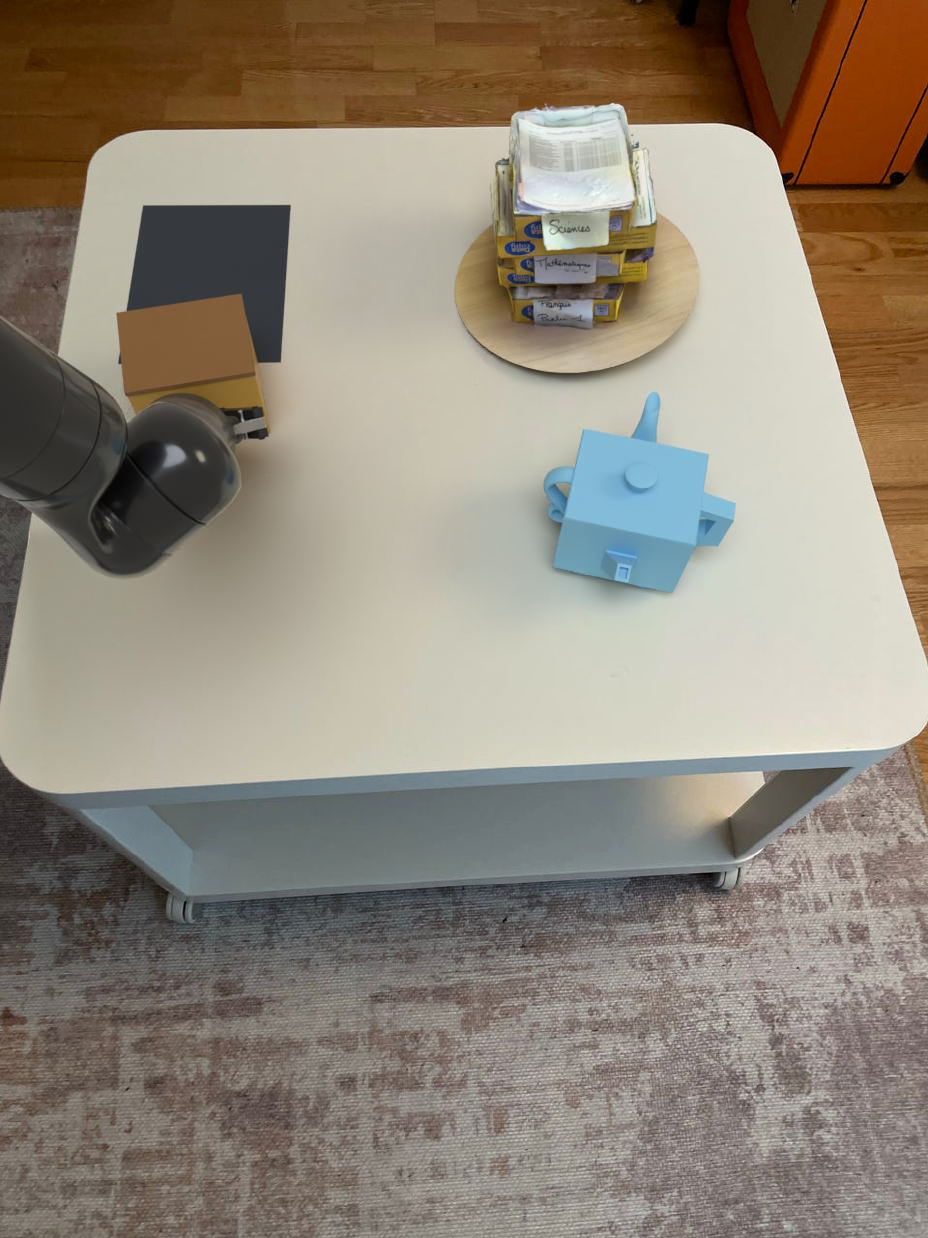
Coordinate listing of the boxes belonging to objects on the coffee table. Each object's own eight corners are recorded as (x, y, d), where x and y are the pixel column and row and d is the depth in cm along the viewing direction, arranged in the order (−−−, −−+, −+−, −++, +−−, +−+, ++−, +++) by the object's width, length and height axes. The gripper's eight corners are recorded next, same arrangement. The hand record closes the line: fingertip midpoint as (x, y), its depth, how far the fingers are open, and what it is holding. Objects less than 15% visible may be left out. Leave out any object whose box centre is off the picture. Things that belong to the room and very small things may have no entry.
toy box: (271, 434, 90) (255, 371, 82) (152, 454, 88) (124, 392, 80) (258, 360, 93) (241, 293, 85) (144, 378, 92) (116, 312, 84)
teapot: (517, 606, 82) (528, 541, 72) (555, 443, 90) (570, 363, 80) (696, 645, 81) (732, 585, 71) (719, 476, 89) (755, 400, 79)
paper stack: (425, 352, 94) (423, 216, 79) (490, 186, 105) (499, 39, 90) (665, 410, 92) (710, 282, 77) (708, 235, 102) (755, 92, 87)
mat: (118, 364, 93) (117, 363, 93) (143, 206, 102) (143, 205, 102) (280, 363, 94) (280, 362, 93) (290, 205, 103) (290, 204, 103)
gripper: (258, 382, 68) (263, 367, 85) (72, 414, 67) (114, 392, 83) (280, 483, 71) (281, 449, 87) (102, 516, 69) (137, 475, 86)
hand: (200, 421), depth 85 cm, fingers closed
